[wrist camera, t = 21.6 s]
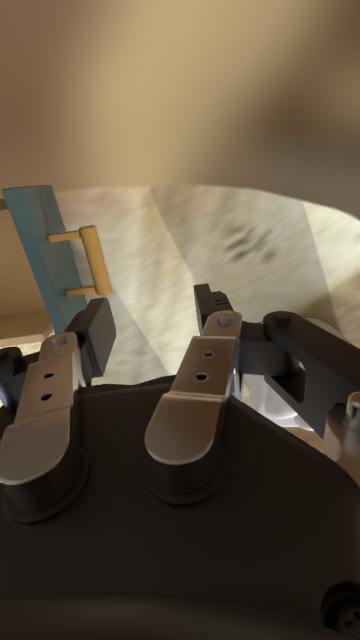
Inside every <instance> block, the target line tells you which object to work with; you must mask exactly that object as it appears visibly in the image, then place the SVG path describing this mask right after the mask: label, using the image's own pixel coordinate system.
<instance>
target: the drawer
mask: <svg viewBox="0 0 360 640" xmlns="http://www.w3.org/2000/svg"><path fill="white" fill-rule="evenodd" d="M2 192H3V195H4V197H5V199H0V347H4V346H11V345H19V344H26V343H33V342H41V341H44V340H46V339H47V338H48V336H49V335H50V334H51V332H52V331H53V330H54V331H55V334H58V333H62V332H64V331H65V329H66V328H67V326H68V325H69V323H70V322H71V321H72V319H73V317H74V316H75V315H76V314H77V313H79V312H80V311H81V310H85V308H86V307H87V302H86V298H85V295H84V294H91V293H96V292H97V295H107V294H109V293H111V292H112V289H111V285H110V281H109V277H108V273H107V269H106V265H105V261H104V257H103V253H102V249H101V245H100V241H99V237H98V234H97V230H96V226H95V225H90V226H84V227H81V228H79V230H77V231H70V232H65V229H64V225H63V222H62V219H61V215H60V212H59V209H58V205H57V202H56V199H55V196H54V192H53V189H52V186H51V185H43V186H27V187H16V188H8V189H3V190H2ZM78 238H81V239H82V242H83V246H84V249H85V253H86V257H87V260H88V264H89V267H90V271H91V274H92V278H93V282H94V285H92V286H85V287H82V285H81V282H80V279H79V275H78V272H77V269H76V265H75V262H74V259H73V255H72V252H71V249H70V245H69V242H68V240H71V239H78Z"/></svg>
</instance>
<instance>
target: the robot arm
mask: <svg viewBox="0 0 360 640" xmlns="http://www.w3.org/2000/svg"><path fill="white" fill-rule="evenodd" d="M194 295H195V303H196V312H197V319H198V326H199V331H200V336H193V337H192V340H191V342H190V344H189V347H188V349H187V351H186V354H185V356H184V358H183V361H182V363H181V365H180V368H179V370H178V372H177V375H171V376H164V377H160V378H156V379H153V380H150V381H146V382H143V383H140V384H136V385H118V384H102V385H94V386H93V383H92V378H95V377H102V376H103V374H104V371H105V368H106V365H107V362H108V359H109V356H110V353H111V350H112V347H113V344H114V341H115V337H116V328H115V324H114V320H113V316H112V312H111V308H110V305H109V301H108V299H107V298H106V297H105V298H97V299H91V300H90V302H89V304H88V305H87V307H86V308H85V310H81V311H80V312H79V313H77V314H76V315H75V316H74V317H73V319H72V321H71V322H70V323H69V325H68V326H67V328H66V329H65V331H64V332H62V333H58V334H55V335H53V336H50V337H49V338H47V339H46V340H44V341H43V342H42V344H41V349H40V351H39V352H36V353H33V354H29V355H26V356H23V355H22V352H21V350H20V348H18V347H7V348H3V349H0V399H1V401H2V403H3V406H2V407H1V408H0V640H360V349H359V348H357V347H355V346H354V345H352V344H350V343H348V342H346V341H344V340H343V339H341V338H339V337H337V336H335V335H334V334H332V333H330V332H328V331H326V330H325V329H323V328H321V327H319V326H317V325H315V324H314V323H312V322H310V321H308V320H306V319H305V318H303V317H301V316H299V315H297V314H295V313H292V312H286V311H278V312H272V313H269V314H267V315H266V316H265V317H264V318H263V324H262V323H248V322H244V321H242V315H241V314H240V313H238V312H235V311H234V310H233V308H232V306H231V304H230V302H229V300H228V298H227V296H226V294H224V293H222V292H220V291H217V292H211V290H210V288H209V285H208V283H207V284H200V285H194ZM299 362H301V363H302V365H303V366H304V368H305V370H304V369H302V368H301V367H300V366H299ZM244 374H250V375H262V376H264V380H265V382H266V383H267V384H268V385H269V386H270V387H271V388H272V389H273V390H274V391H275V392H276V393H277V394H278V395H279V396H280V397H281V398H282V399H283V400H284V401H285V402H286V403H287V404H288V405H289V406H290V407H291V408H292V409H293V410H294V411H295V412H296V413H297V414H298V415H299V416H300V417H301V418H302V419H303V420H304V421H305V422H306V423H307V424H308V425H309V426H310V427H311V428H312V429H313V430H314V431H315V432H316V433H317V434H318V435H319V436H320V437H321V438H322V439H323V440H324V441H323V450H324V453H325V455H324V454H323V453H321V452H320V451H318V450H317V449H315V448H313V447H312V446H310V445H309V444H307V443H306V442H304V441H302V440H301V439H299V438H298V437H296V436H295V435H293V434H291V433H290V432H288V431H287V430H285V429H284V428H282V427H281V426H279V425H277V424H276V423H274V422H273V421H271V420H270V419H268V418H266V417H265V416H263V415H262V414H260V413H259V412H257V411H255V410H254V409H252V408H251V407H249V406H248V405H246V404H244V403H243V402H241V399H242V390H243V381H244Z"/></svg>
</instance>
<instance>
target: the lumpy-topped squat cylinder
mask: <svg viewBox="0 0 360 640" xmlns="http://www.w3.org/2000/svg"><path fill="white" fill-rule="evenodd" d="M303 318H305V319H306V320H308V321H310V322H312V323H314V324H315V325H317V326H319V327H321V328H323V329H325V330H326V331H328V332H330V333H332V334H334V335H335V336H337V337H339V338H341V339H343V340H344V341H346V342H348V343H350V342H349V341H348V340H347V339H346V338H345V337H344V336H343V335H341V334H340V333H339V332H338V331H337V330H336V329H335V328H333V327H332V326H330V325H329V324H327V323H325V322H323V321H321V320H319V319H316V318H309V317H303ZM260 323H262V324H263V322H260ZM350 344H351V343H350ZM299 366H300V367H301V368H302V369H304V370H305V368H304V366H303V365H302V363H301V362H299ZM244 380H245V383H246V386H247V388H248V391H249V394H250V397H251V399H252V402H253V405H254V407H255V410H256V411H257V412H259V413H260V414H262V415H263V416H265V417H266V418H268V419H270V420H271V421H273V422H274V423H276V424H277V425H279V426H281V427H301V428H303V429H305V430H309V431H314V430H313V429H312V428H311V427H310V426H309V425H308V424H307V423H306V422H305V421H304V420H303V419H302V418H301V417H300V416H299V415H298V414H297V413H296V412H295V411H294V410H293V409H292V408H291V407H290V406H289V405H288V404H287V403H286V402H285V401H284V400H283V399H282V398H281V397H280V396H279V395H278V394H277V393H276V392H275V391H274V390H273V389H272V388H271V387H270V386H269V385H268V384H267V383H266V382H265V380H264V376H262V375H250V374H244Z"/></svg>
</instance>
